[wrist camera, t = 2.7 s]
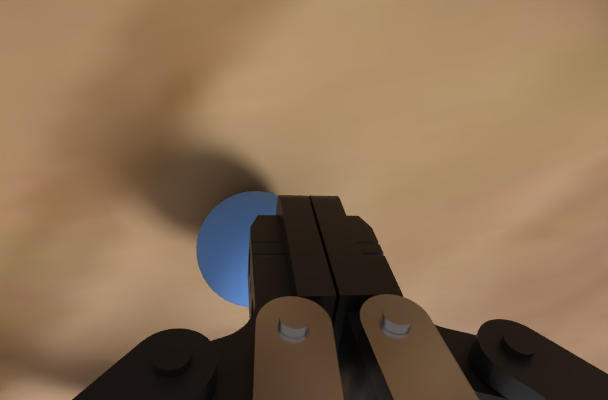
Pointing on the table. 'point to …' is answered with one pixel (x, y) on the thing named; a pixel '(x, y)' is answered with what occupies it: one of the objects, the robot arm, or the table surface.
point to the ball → (231, 243)
